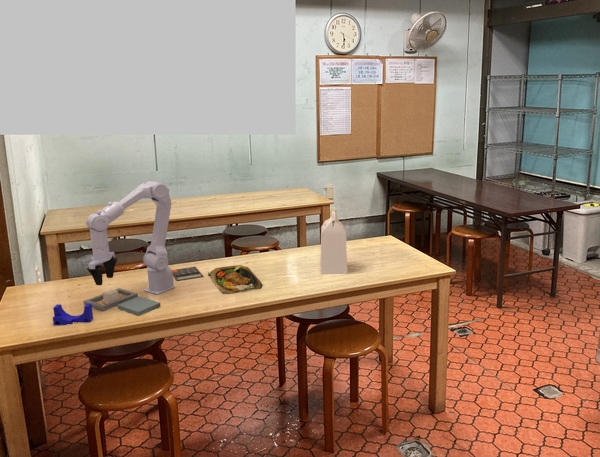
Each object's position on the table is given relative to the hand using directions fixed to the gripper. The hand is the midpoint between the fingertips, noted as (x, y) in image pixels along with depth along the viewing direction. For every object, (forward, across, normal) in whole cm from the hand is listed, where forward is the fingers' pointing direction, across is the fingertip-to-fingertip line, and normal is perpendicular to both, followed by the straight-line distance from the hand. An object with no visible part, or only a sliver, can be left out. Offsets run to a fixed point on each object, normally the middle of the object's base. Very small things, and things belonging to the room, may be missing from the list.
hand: (104, 281), depth 194 cm
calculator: (+10, -37, +16) cm, 42 cm away
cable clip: (+10, +16, -4) cm, 19 cm away
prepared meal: (+11, -32, +40) cm, 52 cm away
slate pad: (+10, +1, +13) cm, 16 cm away
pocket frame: (+10, -4, -1) cm, 10 cm away
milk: (+10, -51, +80) cm, 95 cm away
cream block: (+10, -4, -1) cm, 10 cm away
